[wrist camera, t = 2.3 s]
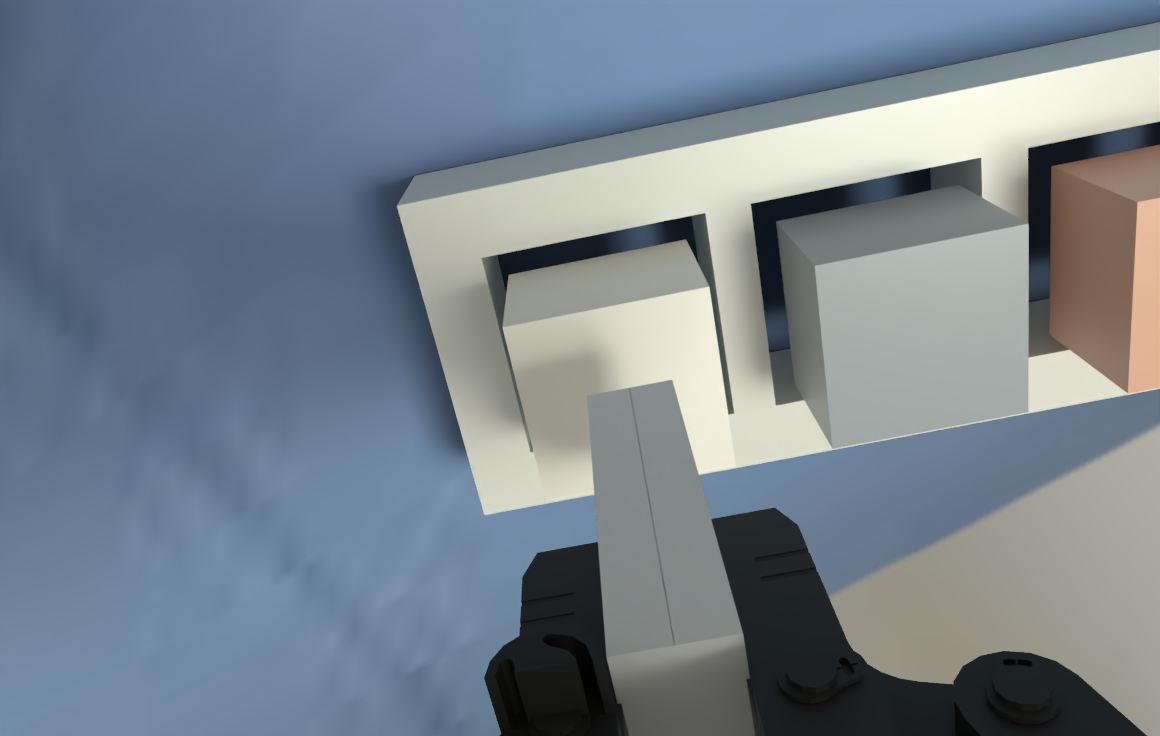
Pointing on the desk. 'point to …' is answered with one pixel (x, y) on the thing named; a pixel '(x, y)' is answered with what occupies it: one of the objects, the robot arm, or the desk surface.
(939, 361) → the key slate
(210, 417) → the desk surface
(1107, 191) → the key terracotta
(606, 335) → the key ivory
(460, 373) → the keypad housing
